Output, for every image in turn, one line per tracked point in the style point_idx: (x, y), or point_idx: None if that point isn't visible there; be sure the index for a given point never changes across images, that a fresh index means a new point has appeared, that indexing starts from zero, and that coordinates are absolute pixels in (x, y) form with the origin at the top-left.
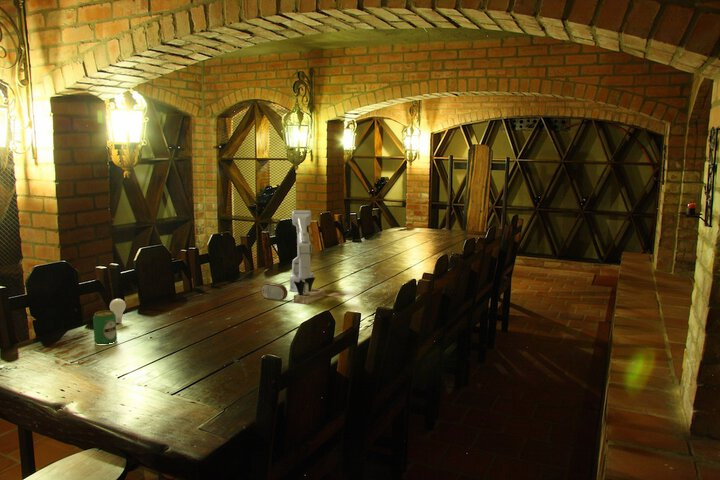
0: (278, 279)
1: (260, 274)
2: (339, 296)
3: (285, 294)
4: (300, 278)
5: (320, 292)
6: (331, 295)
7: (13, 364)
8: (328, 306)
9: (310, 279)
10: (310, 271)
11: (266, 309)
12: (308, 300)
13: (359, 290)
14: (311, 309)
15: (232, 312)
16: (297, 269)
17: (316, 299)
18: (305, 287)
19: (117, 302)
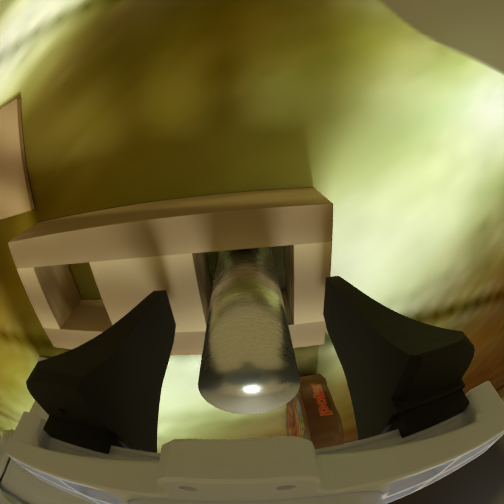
0: None
1: None
2: (2, 127)
3: (322, 390)
4: (483, 432)
5: (63, 230)
6: (12, 188)
7: None
8: (257, 5)
9: (112, 406)
10: (4, 438)
11: (467, 320)
12: (300, 195)
13: None
14: (407, 88)
15: (491, 363)
16: (78, 499)
17: (147, 204)
18: (284, 328)
19: None
